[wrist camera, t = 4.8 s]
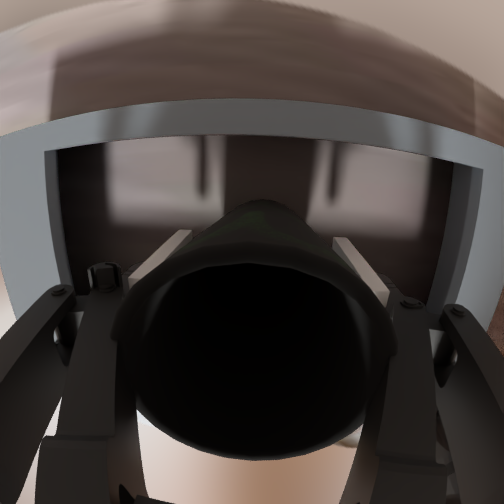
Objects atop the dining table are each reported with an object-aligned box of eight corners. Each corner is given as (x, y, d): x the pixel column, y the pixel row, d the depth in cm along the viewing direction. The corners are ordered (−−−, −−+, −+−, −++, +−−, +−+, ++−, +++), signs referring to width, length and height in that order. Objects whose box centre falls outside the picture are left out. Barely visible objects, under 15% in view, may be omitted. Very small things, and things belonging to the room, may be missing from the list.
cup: (266, 320, 20) (260, 479, 9) (177, 249, 19) (75, 374, 7) (349, 240, 18) (444, 367, 6) (256, 155, 16) (228, 159, 5)
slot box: (428, 325, 22) (464, 376, 15) (70, 305, 23) (27, 348, 16) (464, 148, 16) (527, 157, 10) (49, 136, 18) (-15, 142, 11)
